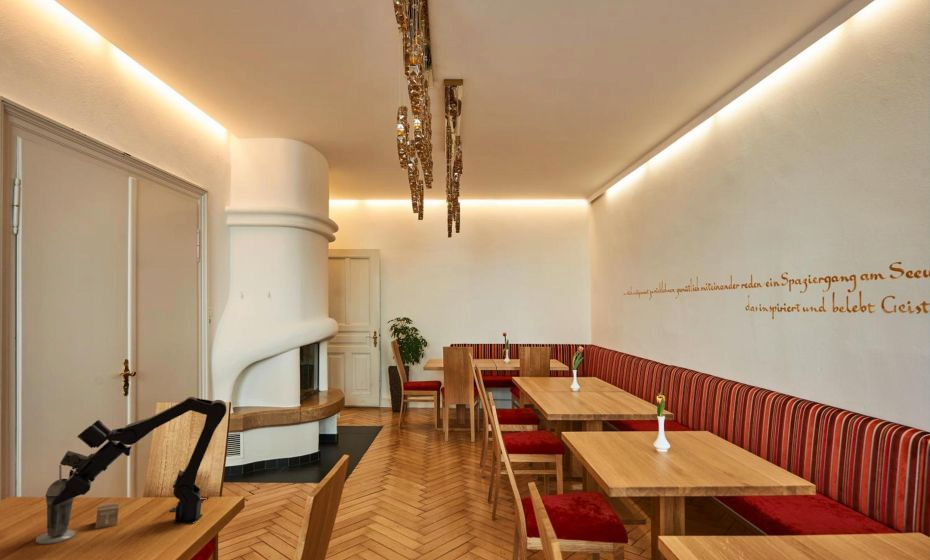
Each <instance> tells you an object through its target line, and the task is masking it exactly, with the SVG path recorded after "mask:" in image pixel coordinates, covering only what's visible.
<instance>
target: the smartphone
mask: <svg viewBox="0 0 930 560" xmlns="http://www.w3.org/2000/svg"><path fill="white" fill-rule="evenodd" d="M200 498H209V499H210V496H206V495H205V496H204V495H203V496H202V495H200ZM204 500H206V499H202V501H201V503H202V502H203V501H204ZM206 501H207V500H206ZM203 503H204V502H203ZM203 503H202V504H203ZM176 506H178V504H176ZM176 506H174V507H173V508H171V509H169V513H176Z"/></svg>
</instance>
